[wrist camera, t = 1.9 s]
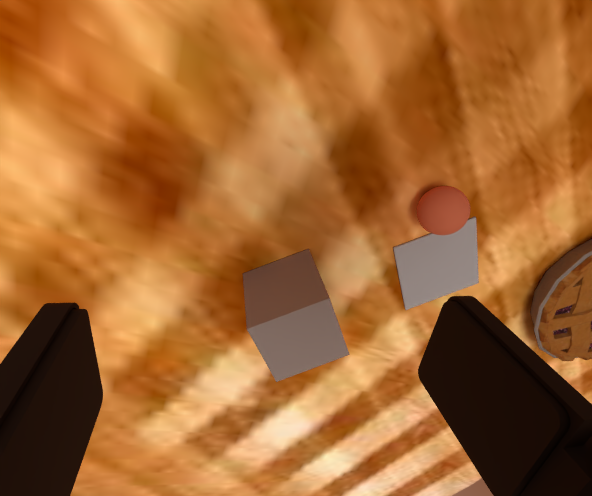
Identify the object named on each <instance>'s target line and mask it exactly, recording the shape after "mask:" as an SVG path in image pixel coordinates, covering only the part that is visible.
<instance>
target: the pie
mask: <svg viewBox="0 0 592 496" xmlns="http://www.w3.org/2000/svg"><path fill="white" fill-rule="evenodd" d="M530 314H531V317H532V321H533V324H534V332H535V336H536V339H537V343H538V346H539V348H540V349H541V350H543V351H544V352H546V353H547V354H549V355H551V356H552V357H554V358H559V359H560V360H562V361H573V360H574V358H578V357H579V358H582V359H584V360H589V359H592V239H590V240H589V241H587V242H585V243H583V244H582V245H580V246H578V247H576V248H575V249H573V250H571V251H569V252H568V253H567V254H566V255H564V256H563V257H562V258H561V259H560V260H559V261H557V262H556V263H555V264H554V265H553V266H552V267H551V268H549V269H548V270H547V271H546V273H545V275H544V276H543V278H542V280H541V281H540V283H539V285H538V287H537V288H536V290H535V292H534V297H533V301H532V306H531V311H530Z"/></svg>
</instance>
